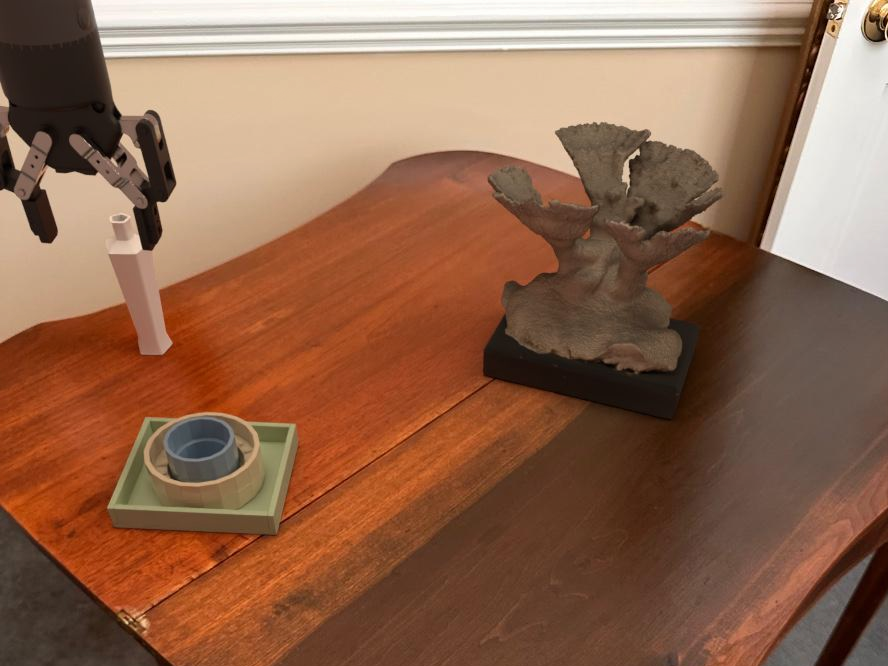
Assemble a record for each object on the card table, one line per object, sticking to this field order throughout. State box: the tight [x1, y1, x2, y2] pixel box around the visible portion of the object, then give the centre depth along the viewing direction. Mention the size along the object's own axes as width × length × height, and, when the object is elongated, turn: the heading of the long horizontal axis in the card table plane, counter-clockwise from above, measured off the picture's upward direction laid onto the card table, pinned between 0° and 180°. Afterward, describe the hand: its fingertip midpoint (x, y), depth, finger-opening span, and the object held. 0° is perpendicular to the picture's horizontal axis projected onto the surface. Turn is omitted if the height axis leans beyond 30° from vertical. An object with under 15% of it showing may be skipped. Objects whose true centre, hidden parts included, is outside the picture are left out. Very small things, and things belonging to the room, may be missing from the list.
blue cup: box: [163, 417, 241, 483], centre depth 83 cm, size 6×6×5 cm
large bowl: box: [144, 411, 265, 510], centre depth 83 cm, size 11×11×4 cm
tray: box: [106, 416, 299, 536], centre depth 84 cm, size 15×13×2 cm
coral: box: [482, 121, 725, 420], centre depth 93 cm, size 25×20×22 cm
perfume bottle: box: [105, 212, 174, 356], centre depth 93 cm, size 5×4×15 cm
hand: (100, 242), depth 73 cm, fingers open, 8 cm apart
